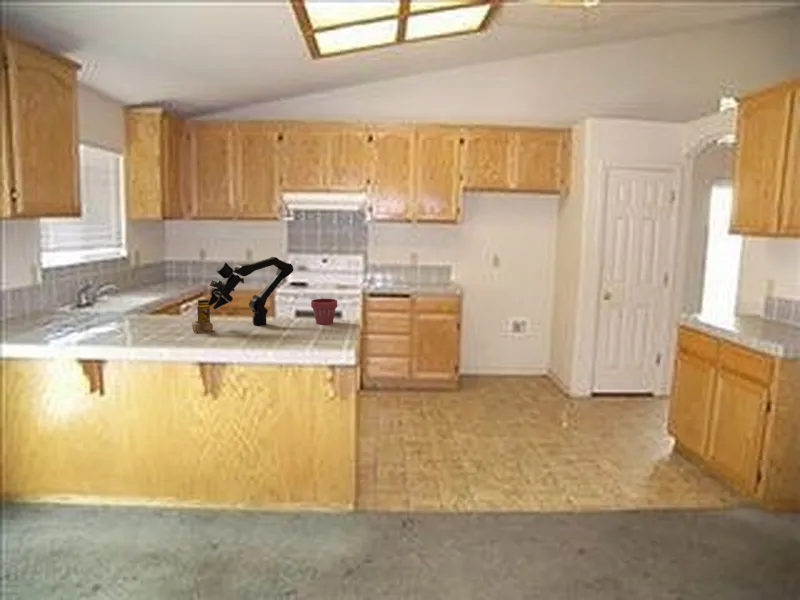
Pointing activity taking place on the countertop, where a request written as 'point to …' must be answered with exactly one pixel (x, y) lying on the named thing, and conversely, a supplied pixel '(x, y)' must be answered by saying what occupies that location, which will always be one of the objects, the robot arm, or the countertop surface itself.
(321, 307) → the plant pot
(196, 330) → the base block
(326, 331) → the countertop surface
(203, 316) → the condiment
